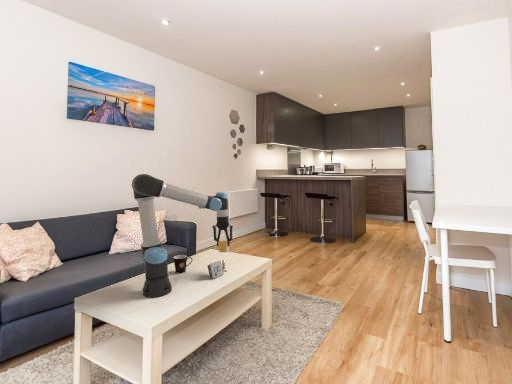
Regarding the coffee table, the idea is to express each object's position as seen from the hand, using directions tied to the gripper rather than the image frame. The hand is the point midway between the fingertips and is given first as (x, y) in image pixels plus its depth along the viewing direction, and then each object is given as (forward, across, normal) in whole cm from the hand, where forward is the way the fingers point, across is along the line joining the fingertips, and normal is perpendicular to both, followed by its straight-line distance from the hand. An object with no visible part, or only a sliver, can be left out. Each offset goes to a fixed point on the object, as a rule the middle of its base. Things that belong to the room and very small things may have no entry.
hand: (223, 250), depth 187 cm
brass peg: (+12, 0, 0) cm, 12 cm away
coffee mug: (+13, +27, +2) cm, 30 cm away
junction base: (+13, 0, 0) cm, 13 cm away
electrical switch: (+14, +4, +10) cm, 17 cm away
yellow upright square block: (0, 0, 0) cm, 0 cm away
